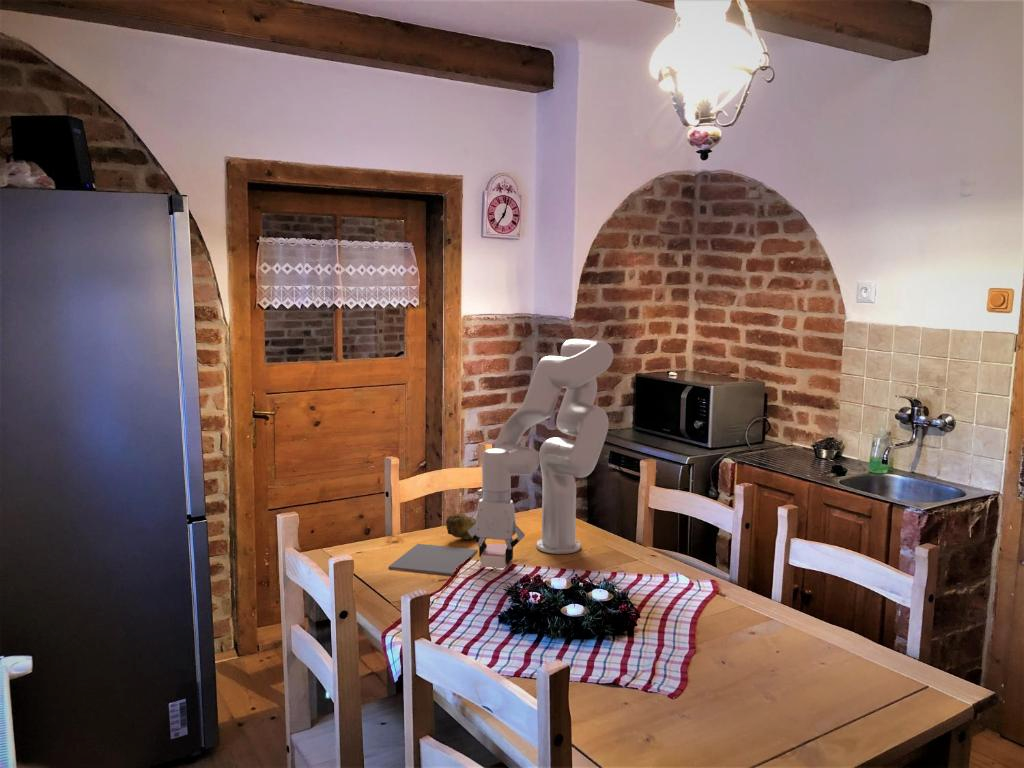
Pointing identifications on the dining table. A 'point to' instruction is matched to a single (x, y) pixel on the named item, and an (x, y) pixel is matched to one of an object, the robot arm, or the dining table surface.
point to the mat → (433, 559)
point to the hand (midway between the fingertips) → (496, 560)
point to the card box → (494, 556)
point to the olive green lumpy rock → (460, 525)
